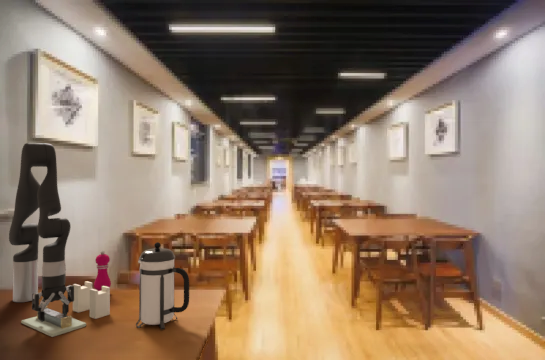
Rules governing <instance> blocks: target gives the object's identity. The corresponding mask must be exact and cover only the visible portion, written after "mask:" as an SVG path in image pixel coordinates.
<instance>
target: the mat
mask: <svg viewBox="0 0 545 360" xmlns="http://www.w3.org/2000/svg"><path fill="white" fill-rule="evenodd" d="M21 324H23V325H25V326H27V327H29V328H31V329H34V330H35V331H38V332H40V333H43V334H45V335H47V336H49V337H52V338H53V337H56V336H57V337H58V336H60V335H62V334H66V333H69V332H72V331H75V330H78V329H82V328H85V327H86V326H87V322H85V321H81V320H78V319H76V318H74V317H72V326H69V327H66V328H63V329H62V328H61V327H59V326H56V325H54V324H51V323H49V322H47V321H43V322H41V321H40V320H39V319H38V318H37V315H36V316H33V317H29V318H26V319H21Z"/></svg>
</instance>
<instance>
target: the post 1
mask: <svg viewBox="0 0 545 360" xmlns="http://www.w3.org/2000/svg"><path fill="white" fill-rule="evenodd" d="M72 286H74V301H73V302H72V312H74V313H75V312H76V313H81V312H85V311H90V289H93V282H91V281H88V280H87V281H84V285H82V286H81V284H77V283H72Z"/></svg>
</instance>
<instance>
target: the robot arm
mask: <svg viewBox="0 0 545 360" xmlns="http://www.w3.org/2000/svg"><path fill="white" fill-rule="evenodd" d="M33 167H34V168H35V167H37V168H38V167H43V168H44V167H45V168H46V175H45V176H44V179H43V180H42V182H41V183H39V181H38V180H37V179H36V177H35V176H34V174H33V172H32V168H33ZM19 169H20V171H19V178H18V179H19V180H18V185H17V189H16V195H15V202H14V211H13V215H12V220H11V224H10V228H9V231H8V241H9V243H10V245H12V246H26V245H28V246H27V247H26V248H24V250H23V249H22V250H21V251H19V252H16V253H15V254H14V255H12V256H13V257H12V302H14V303H25V302H31V310H32V311H35V312H37V311H38V319H39V320H40V321H41V322H43V321H45V311H44V309H45V308H46V307H48V306H49V304H50V303H53V302H55V301H61V303H62V305H61V306H62V308H61V310H62V314H64V315H67V316H68V313H69V310H70V306H69V305H70V303H73V301H74V286H73V285H71V284H68V285H67V286H66V278H67V277H66V270H67V269H66V259H65V258H66V245H67V241H68V239H69V235H70V232H71V222H70V221H69V219H68V218H66V217H55V218H49V217H51V216H54V215H57V214H59V213H60V212H61V210H62V205H61V200H60V199H61V198H60V195H59V189H58V165H57V152H56V148H55V146H54V145H53V144H52V143H43V142H42V143H41V142H26V143H24V144H23V147H22V149H21V155H20V168H19ZM36 211H39V213H38V214H39V216H38V223H36V222H33V223H32V222H31V223H25V221H26V220H27V219H28V218H30V217H31V216H32V215H33V214H34V213H35V212H36ZM40 238H41V239H54V238H56V240H55V241H54V242H51V243H49V244H46V245H44V246H43V248H42V265H41V290H40V292H39V288H38V287H39V239H40ZM66 292H67V296H65V295H64V294H65V293H66ZM41 297H42V299H41ZM40 299H41V300H40Z"/></svg>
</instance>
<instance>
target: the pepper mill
mask: <svg viewBox="0 0 545 360" xmlns="http://www.w3.org/2000/svg"><path fill="white" fill-rule="evenodd" d="M95 257H96V258H95V263H96V264H97V265H96V269H97V274H96V277H95V280H94V282H93V289H95V290H98V291H101V290H102V286H107V287H110V288H111V286H112V285H111V284H112V281H111V278H110V276H109V274H108V268H109V263H110V260H111V258H110V256H109V255H108V254H106V252H105V250H100V254H98V255H96V256H95Z"/></svg>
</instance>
